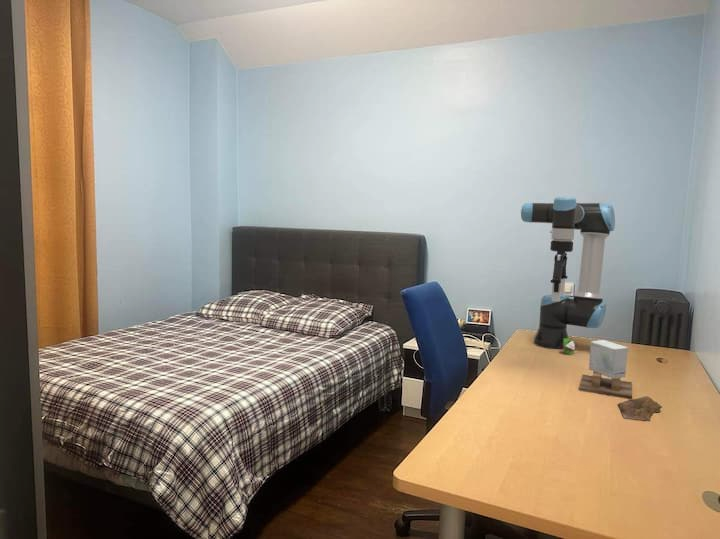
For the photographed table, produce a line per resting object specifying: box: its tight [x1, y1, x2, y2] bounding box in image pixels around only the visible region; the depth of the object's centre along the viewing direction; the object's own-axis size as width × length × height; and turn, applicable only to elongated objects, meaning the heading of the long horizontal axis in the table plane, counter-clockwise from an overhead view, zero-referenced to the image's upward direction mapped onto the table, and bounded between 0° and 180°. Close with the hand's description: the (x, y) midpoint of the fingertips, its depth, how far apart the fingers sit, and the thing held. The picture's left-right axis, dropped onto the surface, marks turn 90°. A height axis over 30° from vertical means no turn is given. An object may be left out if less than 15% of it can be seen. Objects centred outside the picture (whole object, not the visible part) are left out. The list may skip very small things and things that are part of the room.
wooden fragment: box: [617, 395, 663, 422], centre depth 158 cm, size 26×11×1 cm, turn 135°
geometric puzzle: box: [559, 337, 579, 355], centre depth 218 cm, size 7×7×8 cm
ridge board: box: [578, 371, 633, 400], centre depth 176 cm, size 16×16×5 cm
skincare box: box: [588, 339, 629, 379], centre depth 175 cm, size 10×6×10 cm, turn 21°
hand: (557, 298), depth 185 cm, fingers open, 13 cm apart
